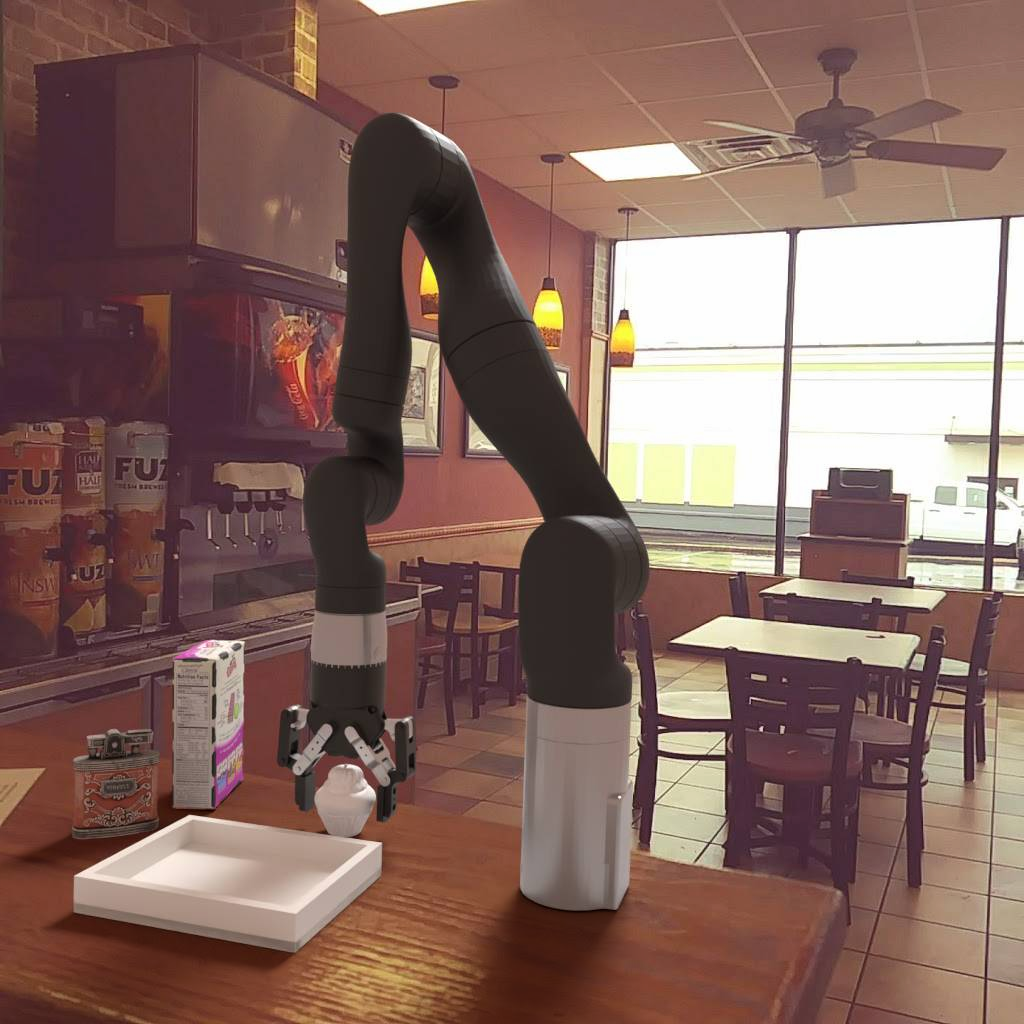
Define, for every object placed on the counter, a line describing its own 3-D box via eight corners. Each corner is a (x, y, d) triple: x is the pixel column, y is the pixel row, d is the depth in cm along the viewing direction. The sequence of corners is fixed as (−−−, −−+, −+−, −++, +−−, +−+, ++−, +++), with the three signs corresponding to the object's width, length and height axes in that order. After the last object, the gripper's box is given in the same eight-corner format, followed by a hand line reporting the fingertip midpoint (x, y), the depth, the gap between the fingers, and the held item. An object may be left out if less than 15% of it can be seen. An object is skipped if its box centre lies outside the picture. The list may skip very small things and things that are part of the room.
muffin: (310, 823, 106) (311, 756, 106) (369, 819, 108) (371, 753, 108) (317, 845, 100) (319, 774, 100) (379, 840, 102) (381, 770, 102)
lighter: (73, 841, 99) (75, 738, 99) (70, 830, 102) (72, 730, 102) (161, 830, 103) (163, 731, 103) (155, 820, 106) (157, 723, 106)
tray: (381, 875, 93) (382, 842, 93) (295, 952, 78) (295, 913, 78) (188, 845, 99) (189, 814, 99) (73, 912, 84) (74, 875, 84)
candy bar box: (201, 779, 120) (204, 638, 120) (244, 780, 120) (247, 640, 119) (167, 810, 109) (170, 655, 108) (214, 812, 109) (218, 657, 108)
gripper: (429, 655, 105) (424, 812, 106) (303, 644, 109) (299, 795, 110) (400, 667, 98) (395, 836, 99) (266, 655, 102) (262, 817, 103)
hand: (344, 814), depth 104 cm, fingers open, 8 cm apart
